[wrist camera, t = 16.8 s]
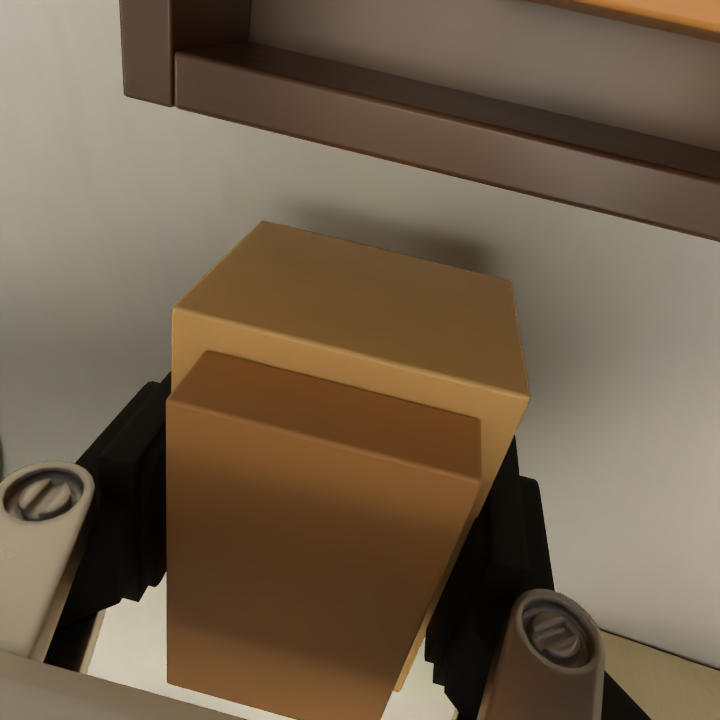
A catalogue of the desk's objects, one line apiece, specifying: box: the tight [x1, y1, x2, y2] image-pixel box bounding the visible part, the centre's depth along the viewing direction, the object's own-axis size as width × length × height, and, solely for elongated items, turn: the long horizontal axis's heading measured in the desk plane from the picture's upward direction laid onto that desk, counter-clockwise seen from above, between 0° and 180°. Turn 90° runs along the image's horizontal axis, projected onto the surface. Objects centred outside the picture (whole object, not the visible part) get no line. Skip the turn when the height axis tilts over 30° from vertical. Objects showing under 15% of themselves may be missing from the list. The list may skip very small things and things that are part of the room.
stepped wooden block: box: [166, 221, 530, 720], centre depth 10 cm, size 5×8×5 cm, turn 169°
